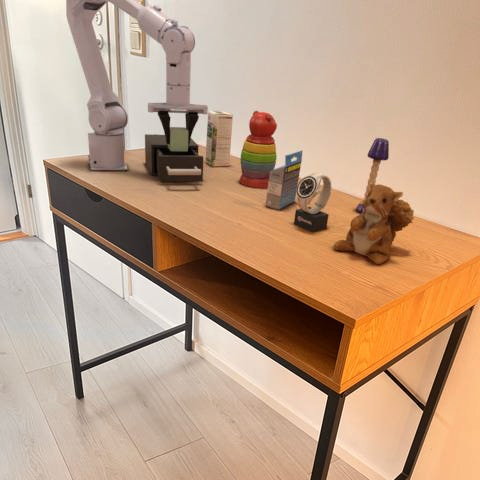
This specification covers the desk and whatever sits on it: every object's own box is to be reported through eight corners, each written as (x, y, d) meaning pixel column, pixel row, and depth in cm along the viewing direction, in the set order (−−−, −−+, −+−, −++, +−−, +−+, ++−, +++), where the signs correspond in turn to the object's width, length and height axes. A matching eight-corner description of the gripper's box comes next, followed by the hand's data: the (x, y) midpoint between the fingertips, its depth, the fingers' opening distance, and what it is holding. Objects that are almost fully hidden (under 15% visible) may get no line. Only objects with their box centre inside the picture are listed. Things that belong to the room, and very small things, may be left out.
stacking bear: (284, 186, 130) (293, 115, 121) (252, 190, 125) (259, 115, 116) (261, 176, 138) (268, 108, 129) (230, 179, 133) (235, 108, 124)
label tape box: (281, 198, 121) (287, 146, 115) (296, 201, 120) (303, 149, 113) (264, 206, 115) (270, 152, 108) (280, 210, 113) (286, 155, 107)
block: (170, 151, 123) (170, 130, 120) (167, 147, 126) (167, 126, 124) (187, 151, 124) (188, 130, 122) (184, 147, 128) (184, 127, 125)
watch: (287, 225, 105) (294, 173, 99) (312, 219, 109) (320, 169, 104) (306, 233, 101) (314, 180, 96) (332, 227, 106) (341, 175, 100)
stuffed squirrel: (329, 250, 94) (341, 181, 88) (369, 235, 103) (383, 172, 96) (373, 268, 88) (390, 196, 82) (411, 250, 97) (430, 184, 91)
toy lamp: (376, 210, 118) (392, 138, 110) (375, 216, 114) (392, 142, 106) (356, 207, 119) (370, 135, 111) (354, 213, 115) (369, 139, 107)
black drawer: (207, 187, 122) (208, 161, 119) (162, 187, 119) (161, 161, 116) (192, 169, 136) (193, 145, 133) (152, 168, 133) (151, 145, 130)
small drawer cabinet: (197, 175, 134) (198, 145, 130) (151, 175, 130) (151, 144, 126) (187, 163, 144) (188, 135, 140) (145, 163, 141) (144, 134, 137)
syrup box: (204, 162, 147) (206, 110, 140) (222, 161, 150) (225, 110, 142) (211, 166, 143) (214, 113, 136) (230, 166, 145) (233, 113, 138)
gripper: (150, 85, 112) (151, 146, 119) (211, 88, 116) (209, 147, 123) (146, 81, 118) (147, 140, 125) (204, 84, 122) (202, 141, 129)
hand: (177, 143), depth 125 cm, fingers closed on block, 4 cm apart
